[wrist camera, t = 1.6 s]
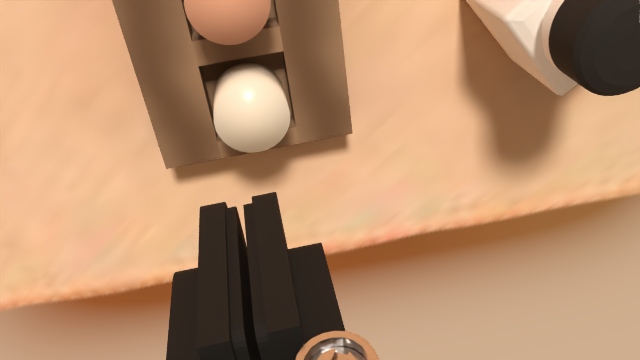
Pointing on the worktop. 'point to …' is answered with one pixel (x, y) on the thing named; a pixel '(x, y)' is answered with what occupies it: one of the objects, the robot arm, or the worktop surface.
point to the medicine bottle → (569, 41)
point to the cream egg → (250, 108)
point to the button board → (214, 59)
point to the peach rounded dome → (227, 19)
